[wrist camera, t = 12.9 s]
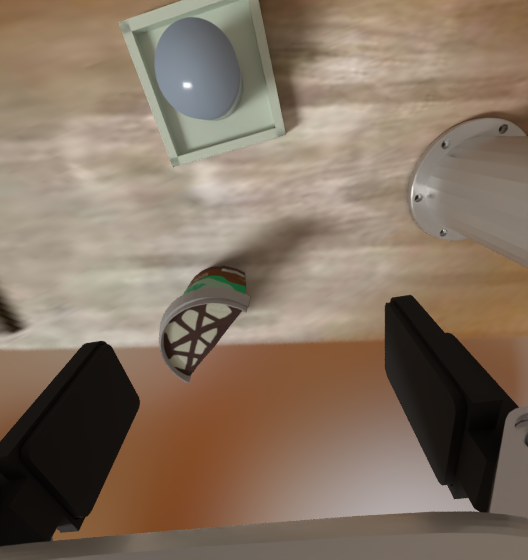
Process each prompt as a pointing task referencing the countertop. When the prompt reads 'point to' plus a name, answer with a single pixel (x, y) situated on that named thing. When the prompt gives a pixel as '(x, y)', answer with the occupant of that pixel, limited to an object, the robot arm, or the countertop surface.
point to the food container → (201, 318)
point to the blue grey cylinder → (198, 70)
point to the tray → (253, 64)
